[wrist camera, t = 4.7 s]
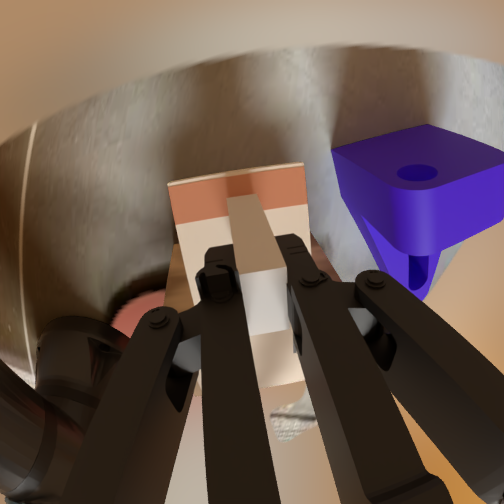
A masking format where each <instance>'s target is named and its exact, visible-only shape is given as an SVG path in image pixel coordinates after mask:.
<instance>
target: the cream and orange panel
mask: <svg viewBox="0 0 504 504" xmlns="http://www.w3.org/2000/svg"><path fill="white" fill-rule="evenodd" d="M167 184H168V190H169V195H170V201H171V206H172V211H173V216H174V221H175V225H176V229H177V234H178V239H179V243H180V248H181V252H182V257H183V261H184V265H185V270H186V274H187V278H188V282H189V286H190V290H191V295H192V298H193V302H194V306H195V305H197V304H198V303H199V302H200V296H199V292H198V288H197V285H196V281H195V276H196V273H197V272H198V271H199V270H200V269H201V268H203V267H204V255H205V253H206V252H207V250H208V249H209V247H215V246H222V245H228V244H233V241H232V234H231V227H230V220H229V213H228V206H227V199H226V198H230V197H237V196H243V195H250V194H257V196H258V198H259V201H260V203H261V205H262V208H263V210H264V213H265V215H266V217H267V220H268V222H269V225H270V227H271V229H272V232H273V234H274V236H279V235H285V234H291V233H294V234H295V235H297V236H299V237H300V238H302V240H303V242H304V244H305V246H306V247H307V249H308V252H309V253H310V255H311V242H310V229H309V216H308V202H307V191H306V181H305V171H304V164H303V163H302V162H293V163H284V164H276V165H268V166H261V167H253V168H246V169H239V170H233V171H226V172H220V173H214V174H208V175H202V176H197V177H191V178H186V179H180V180H175V181H170V182H169V183H167Z"/></svg>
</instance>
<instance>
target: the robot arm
mask: <svg viewBox="0 0 504 504" xmlns="http://www.w3.org/2000/svg"><path fill="white" fill-rule="evenodd" d="M226 199H227V206H228V213H229V220H230V227H231V234H232V241H233V244H228V245H222V246H215V247H209V249H208V250H207V252H206V253H205V255H204V267H203V268H201V269H200V270H199V271H198V272H197V273H196V276H195V281H196V285H197V288H198V292H199V296H200V302H199V303H198V304H197V305H195V306H194V307H192V308H190V309H188V310H185V311H183V312H180V313H178V312H177V310H175V309H174V308H172V307H167V306H162V307H157V308H154V309H151V310H149V311H148V312H147V313H145V314H144V315H143V316H142V318H141V319H140V321H139V323H138V325H137V326H136V328H135V330H134V332H133V334H132V336H131V338H129V337H127V336H126V335H125V334H123V333H122V332H120V331H118V330H117V329H115V328H113V327H111V326H109V325H107V324H104V323H102V322H99V321H96V320H93V319H89V318H84V317H75V316H69V317H61V318H58V319H55V320H53V321H51V322H50V323H49V324H47V325H46V327H45V328H44V330H43V332H42V334H41V336H40V339H39V341H38V344H37V351H36V355H37V362H36V381H35V389H33V388H31V387H30V386H29V385H28V384H27V383H26V382H25V381H23V380H22V379H21V378H20V377H19V376H18V375H17V374H16V373H15V372H14V371H13V370H12V369H10V368H9V367H8V366H7V365H6V364H5V363H4V362H3V361H2V360H1V359H0V493H1V494H4V495H5V496H6V497H5V502H6V504H164V503H165V499H166V495H167V491H168V487H169V483H170V479H171V476H172V472H173V467H174V464H175V460H176V456H177V453H178V449H179V445H180V441H181V437H182V434H183V430H184V426H185V423H186V419H187V415H188V411H189V407H190V404H191V400H192V397H193V393H194V389H195V386H196V382H197V379H198V375H199V370H200V369H201V386H202V413H203V432H204V450H205V466H206V478H207V479H206V480H207V492H208V503H209V504H281V501H280V496H279V491H278V486H277V481H276V476H275V471H274V466H273V461H272V456H271V450H270V446H269V440H268V435H267V429H266V424H265V419H264V413H263V408H262V403H261V397H260V392H259V386H258V381H257V375H256V370H255V364H254V359H253V353H252V347H251V342H250V336H253V335H259V334H265V333H271V332H276V331H282V330H287V329H290V323H291V327H292V330H293V353H296V351H297V355H298V358H299V361H300V364H301V368H302V371H303V374H304V378H305V381H306V384H307V388H308V391H309V395H310V398H311V401H312V405H313V408H314V411H315V415H316V418H317V422H318V425H319V428H320V432H321V435H322V438H323V442H324V446H325V449H326V452H327V456H328V459H329V463H330V466H331V470H332V473H333V477H334V480H335V484H336V487H337V491H338V495H339V498H340V502H341V504H453V501H452V499H451V496H450V494H449V491H448V489H447V487H446V485H445V484H444V482H443V481H442V480H441V479H440V478H439V477H438V476H435V475H433V474H430V473H429V472H428V471H427V470H426V469H425V467H424V465H423V463H422V460H421V458H420V456H419V453H418V451H417V449H416V446H415V444H414V442H413V440H412V437H411V435H410V433H409V431H408V428H407V426H406V424H405V422H404V420H403V417H402V415H401V413H400V411H399V409H398V407H397V405H396V403H395V400H394V398H393V396H392V394H393V395H394V396H395V397H396V398H397V400H398V401H399V402H400V403H401V405H402V406H403V407H404V408H405V409H406V411H408V413H409V414H410V415H411V416H412V418H413V419H414V420H415V421H416V423H418V425H419V426H420V427H421V429H422V430H423V431H424V432H425V433H426V435H427V436H428V437H429V438H430V439H431V441H432V442H433V443H434V444H435V445H436V446H437V448H438V449H439V450H440V452H441V453H442V454H443V455H444V456H445V458H446V459H447V460H448V461H449V463H451V465H452V466H453V467H454V469H455V470H456V471H457V472H458V473H459V475H460V476H461V477H462V478H463V480H464V481H465V482H466V483H467V485H468V486H469V487H470V488H471V489H472V490H473V492H474V493H475V494H476V495H477V496H478V497H479V498H481V499H482V500H483V501H484V502H486V503H487V504H504V375H503V374H502V373H501V372H500V371H499V370H498V369H497V368H496V367H495V366H494V365H493V364H492V363H491V362H490V361H489V360H488V359H486V358H485V357H484V356H483V355H482V354H481V353H480V352H479V351H478V350H477V349H476V348H475V347H474V346H473V345H471V344H470V343H469V342H468V341H467V340H466V339H465V338H464V337H463V336H462V335H460V334H459V333H458V332H457V331H456V330H455V329H454V328H453V327H451V326H450V325H449V324H448V323H447V322H446V321H444V320H443V319H442V318H441V317H440V316H439V315H438V314H436V313H435V312H434V311H433V310H432V309H430V308H429V307H428V306H427V305H426V304H425V303H423V302H422V301H421V300H420V299H419V298H417V297H416V296H415V295H414V294H413V293H411V292H410V291H409V290H408V289H407V288H405V287H404V286H403V285H402V284H400V283H399V282H398V281H397V280H395V279H394V278H393V277H392V276H390V275H389V274H387V273H385V272H383V271H379V270H367V271H363V272H361V273H360V274H358V275H357V277H356V279H355V282H337V281H333V280H332V279H331V277H330V276H329V275H328V274H327V273H326V272H324V271H322V270H319V269H318V267H317V266H316V264H315V262H314V260H313V258H312V256H311V255H310V253H309V252H308V249H307V247H306V246H305V244H304V242H303V240H302V238H300V237H299V236H297V235H295V234H294V233H291V234H285V235H279V236H274V234H273V232H272V229H271V227H270V225H269V222H268V220H267V217H266V215H265V213H264V210H263V208H262V205H261V203H260V201H259V198H258V196H257V194H250V195H243V196H237V197H230V198H226ZM289 320H290V321H289ZM390 391H391V392H390ZM391 393H392V394H391Z"/></svg>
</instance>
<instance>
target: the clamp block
mask: <svg viewBox="0 0 504 504" xmlns="http://www.w3.org/2000/svg"><path fill="white" fill-rule="evenodd" d="M310 242H311V256H312V258H313V260H314V262H315V264H316V266H317V267H318V269H319V270H322V271H324V272H326V273H327V274H328V275H329V276H330V277H331V279H332V280H333V281H337V282H342V281H341V279H340V277H339V276H338V274H337V273H336V271H335V269H334V268H333V266H332V265H331V263H330V261H329V260H328V258H327V257H326V255H325V253H324V252H323V250H322V249H321V247H320V246H319V244H318V243H317V241H316V239H315V238H314V236H313V235H312V233H311V232H310ZM163 306H167V307H172V308H174V309H175V310H177V312H178V313H180V312H183V311H185V310H188V309H190V308H192V307H194V302H193V298H192V295H191V290H190V286H189V282H188V278H187V274H186V270H185V265H184V261H183V257H182V252H181V248H180V243H179V244H174V246H173V251H172V257H171V262H170V268H169V274H168V280H167V286H166V292H165V299H164V305H163ZM289 321H290V320H289ZM250 342H251V347H252V353H253V359H254V364H255V370H256V375H257V381H258V386H259V389H262V388H268V387H273V386H278V385H283V384H288V383H293V382H298V381H303V380H305V378H304V374H303V371H302V368H301V364H300V361H299V358H298V355H297V351H296V353H293V330H292V327H291V323H290V329H287V330H282V331H276V332H271V333H265V334H259V335H253V336H250ZM194 395H195V396H202V386H201V369H200V370H199V375H198V379H197V382H196V386H195V389H194Z"/></svg>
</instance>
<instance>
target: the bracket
mask: <svg viewBox="0 0 504 504" xmlns="http://www.w3.org/2000/svg"><path fill="white" fill-rule="evenodd" d="M331 153H332V157H333V161H334V165H335V170H336V174H337V179H338V183H339V188H340V193H341V197H342V199H343V200H344V202H345V204H346V206H347V208H348V209H349V211H350V213H351V215H352V217H353V219H354V220H355V222H356V224H357V226H358V228H359V230H360V232H361V234H362V236H363V237H364V239H365V241H366V243H367V245H368V247H369V249H370V251H371V253H372V255H373V257H374V259H375V261H376V263H377V265H378V267H379V269H380V271H383V272H385V273H387V274H389V275H390V276H392V277H393V278H394V279H395V280H397V281H398V282H399V283H400V284H402V285H403V286H404V287H405V288H407V289H408V290H409V291H410V292H411V293H413V294H414V295H415V296H416V297H417V298H419V299H420V300H421V301H422V300H423V299H424V298H425V297H426V295H427V293H428V291H429V288H430V285H431V282H432V279H433V276H434V273H435V270H436V267H437V264H438V260H439V257H440V254H441V251H442V250H444V249H446V248H448V247H451V246H453V245H455V244H457V243H459V242H461V241H463V240H465V239H467V238H469V237H471V236H473V235H475V234H477V233H479V232H481V231H483V230H485V229H487V228H489V227H491V226H493V225H495V224H497V223H499V222H501V221H502V220H503V218H504V152H503V151H501V150H499V149H496V148H494V147H492V146H489V145H487V144H484V143H482V142H479V141H476V140H474V139H471V138H468V137H465V136H463V135H460V134H457V133H454V132H451V131H448V130H445V129H442V128H439V127H435V126H432V125H429V124H426V125H422V126H417V127H413V128H409V129H405V130H401V131H397V132H393V133H389V134H385V135H381V136H377V137H373V138H370V139H366V140H362V141H359V142H355V143H352V144H348V145H345V146H341V147H338V148H334V149H331Z"/></svg>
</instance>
